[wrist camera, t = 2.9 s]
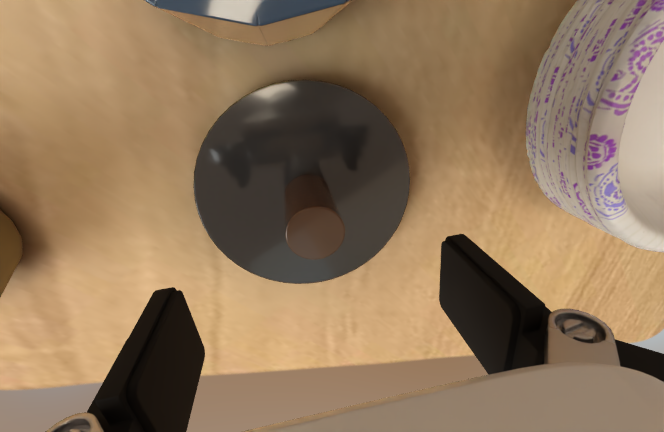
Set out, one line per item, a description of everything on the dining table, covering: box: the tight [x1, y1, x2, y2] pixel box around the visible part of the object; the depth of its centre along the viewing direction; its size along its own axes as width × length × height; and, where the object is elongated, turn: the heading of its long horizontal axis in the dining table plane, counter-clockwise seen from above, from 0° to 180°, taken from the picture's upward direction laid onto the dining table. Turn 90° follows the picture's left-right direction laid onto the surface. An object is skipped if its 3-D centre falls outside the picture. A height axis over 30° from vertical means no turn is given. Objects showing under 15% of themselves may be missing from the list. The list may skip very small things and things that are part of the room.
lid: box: [194, 80, 410, 284], centre depth 17 cm, size 13×13×6 cm
